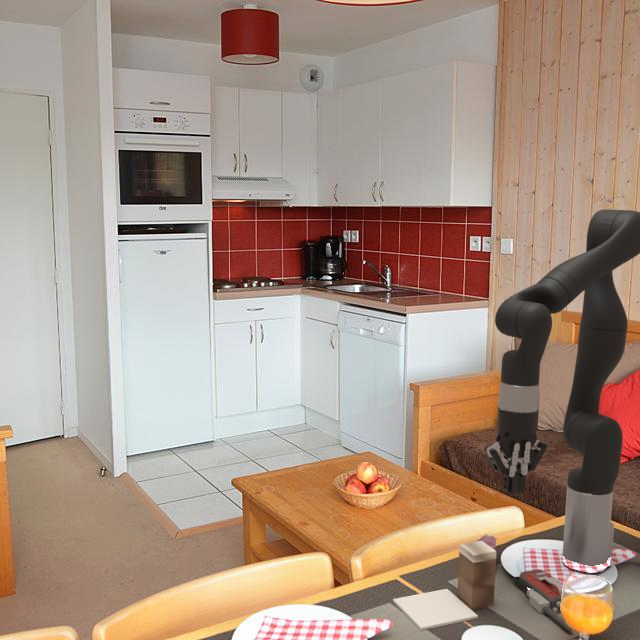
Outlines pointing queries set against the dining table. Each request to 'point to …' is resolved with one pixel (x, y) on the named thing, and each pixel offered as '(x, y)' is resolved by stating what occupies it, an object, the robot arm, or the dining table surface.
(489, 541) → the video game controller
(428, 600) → the cream square tile
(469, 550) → the walnut block
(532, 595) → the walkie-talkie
